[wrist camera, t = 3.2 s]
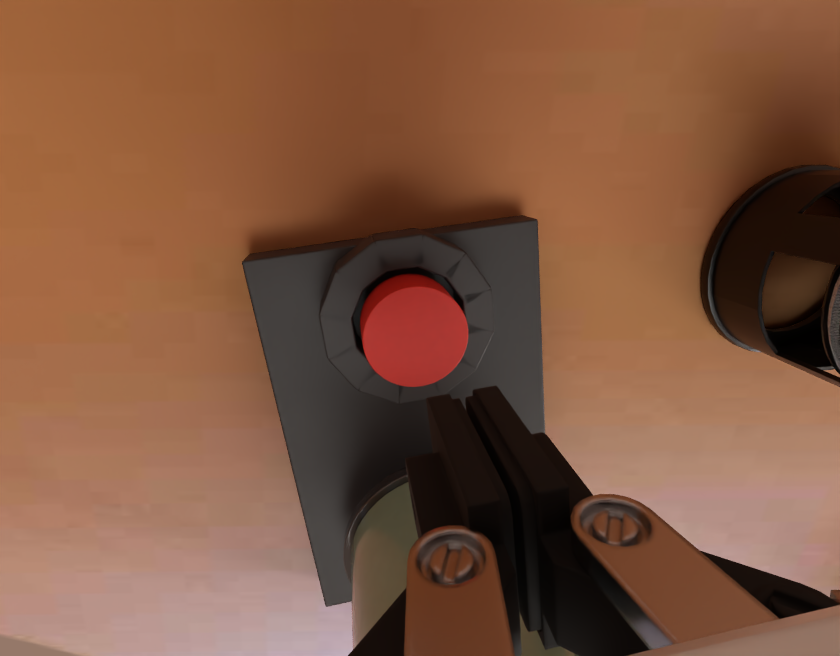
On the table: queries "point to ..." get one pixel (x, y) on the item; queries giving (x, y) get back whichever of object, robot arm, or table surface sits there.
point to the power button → (412, 330)
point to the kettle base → (358, 382)
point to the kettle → (392, 558)
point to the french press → (750, 258)
